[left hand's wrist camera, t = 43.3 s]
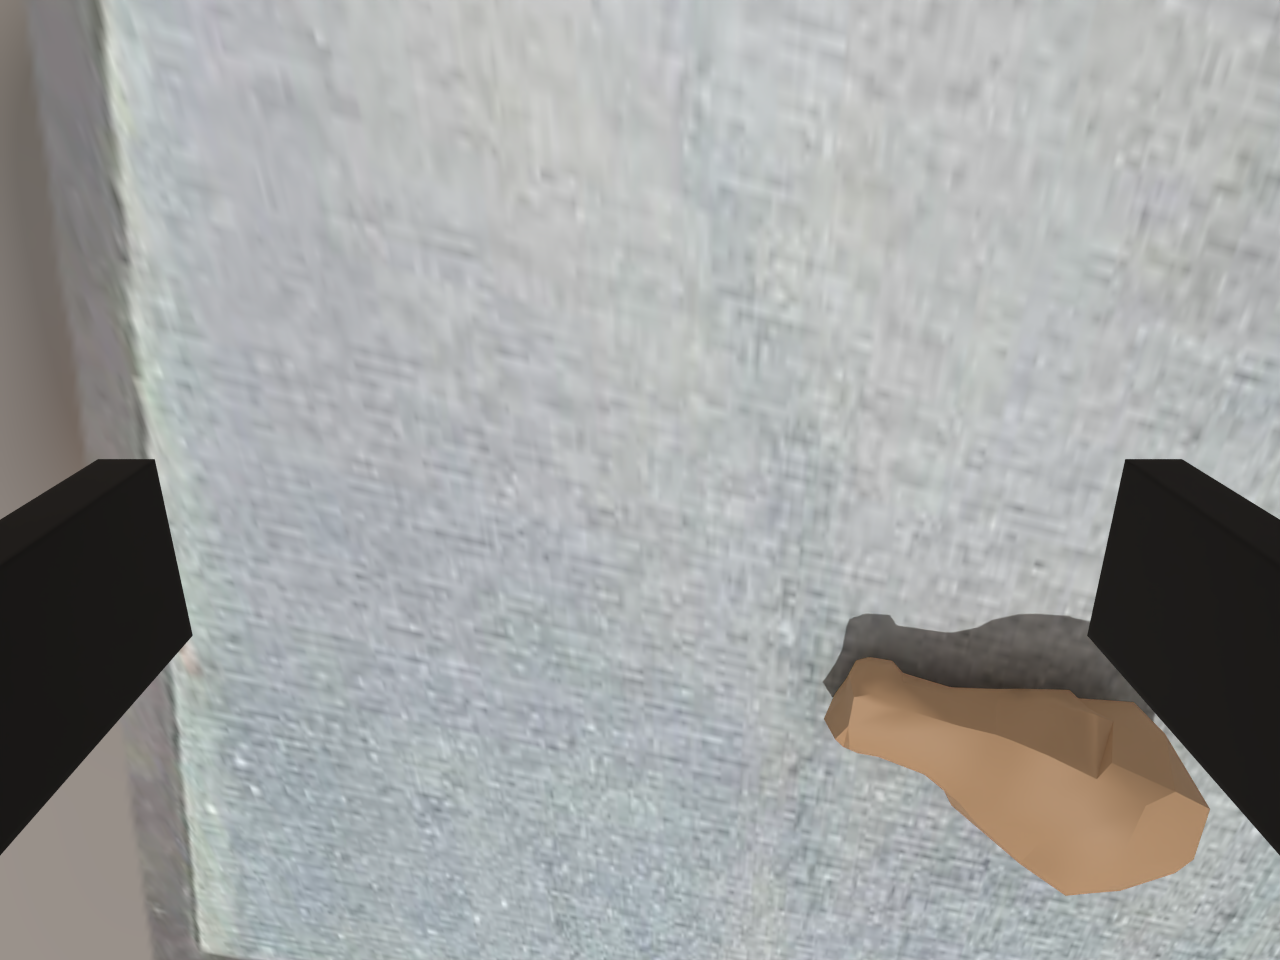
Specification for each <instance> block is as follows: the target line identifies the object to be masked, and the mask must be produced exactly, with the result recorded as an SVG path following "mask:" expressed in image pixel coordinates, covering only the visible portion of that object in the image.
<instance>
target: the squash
mask: <svg viewBox="0 0 1280 960" xmlns="http://www.w3.org/2000/svg"><path fill="white" fill-rule="evenodd" d="M824 720H825V722H826V723H827V725H828V727H829V729H830V731H831V733H832V734H833V736H834V738H835V739H836V740H837V741H838V742H839V743H840V744H841V745H842V746H843V747H845V748H847V749H850V750H852V751H854V752H856V753H860V754H866V755H872V756H878V757H880V758H883V759H885V760H888V761H891V762H893V763H896V764H899V765H901V766H904V767H906V768H909V769H912V770H914V771H917V772H920V773H922V774H924V775H926V776H927V777H928V778H929V779H931V780H932V781H933V782H934V783H936V784H937V785H938V786H939V787H940V788H942V789H943V790H944V791H945V793H946V795H947V797H948V799H949V801H950V803H951V805H952V806H953V807H954V808H955V809H956V810H958V811H959V812H960V813H961V814H962V815H963V816H965V817H966V818H967V819H968V820H969V821H970V822H972V823H973V824H974V825H975V826H976V827H977V828H979V829H980V830H981V831H982V832H983V833H984V834H986V835H987V836H988V837H989V838H990V839H991V840H993V841H994V842H995V843H996V844H997V845H998V846H1000V847H1001V848H1002V849H1003V850H1004V851H1005V852H1007V853H1008V854H1009V855H1010V856H1011V857H1013V858H1014V859H1015V860H1016V861H1017V862H1018V863H1020V864H1021V865H1022V866H1024V867H1025V868H1027V869H1028V870H1030V871H1031V872H1032V873H1034V874H1035V875H1037V876H1038V877H1040V878H1041V879H1042V880H1044V881H1045V882H1047V883H1048V884H1050V885H1051V886H1053V887H1054V888H1055V889H1057V890H1058V891H1060V892H1061V893H1063V894H1064V895H1065V896H1067V895H1077V894H1087V893H1098V892H1111V891H1121V890H1124V889H1127V888H1130V887H1133V886H1136V885H1139V884H1142V883H1145V882H1149V881H1152V880H1155V879H1158V878H1161V877H1164V876H1167V875H1170V874H1173V873H1176V872H1177V871H1178V870H1180V869H1181V868H1182V867H1184V866H1185V865H1186V864H1188V863H1189V862H1191V861H1192V860H1193V859H1194V857H1195V853H1196V850H1197V847H1198V844H1199V841H1200V838H1201V835H1202V832H1203V829H1204V826H1205V823H1206V820H1207V817H1208V814H1209V811H1210V808H1209V807H1208V805H1207V803H1206V802H1205V800H1204V798H1203V797H1202V795H1201V793H1200V792H1199V790H1198V788H1197V787H1196V785H1195V783H1194V782H1193V780H1192V778H1191V777H1190V775H1189V773H1188V772H1187V770H1186V768H1185V767H1184V765H1183V763H1182V762H1181V760H1180V758H1179V756H1178V755H1177V753H1176V751H1175V750H1174V748H1173V746H1172V745H1171V743H1170V741H1169V740H1168V738H1167V736H1166V735H1165V733H1164V732H1163V731H1162V730H1161V729H1160V728H1159V727H1158V726H1157V725H1156V724H1155V723H1154V722H1153V721H1152V720H1151V719H1150V718H1149V717H1148V716H1147V715H1146V714H1145V713H1144V712H1143V711H1142V710H1141V709H1140V708H1139V707H1138V706H1137V705H1136V704H1135V703H1134V702H1125V701H1111V700H1096V699H1082V698H1077V697H1076V696H1075V695H1074V694H1073V693H1072V692H1071V691H1070V690H1056V689H983V688H955V687H948V686H945V685H942V684H938V683H935V682H932V681H928V680H925V679H922V678H918V677H915V676H912V675H908V674H905V673H903V672H902V671H901V670H900V669H899V668H898V667H897V666H896V664H895V663H894V662H893V661H891V660H885V659H878V658H872V657H867V658H863V659H859V660H856V661H855V663H854V665H853V667H852V669H851V671H850V673H849V674H848V676H847V678H846V679H845V681H844V682H843V684H842V685H841V686H840V688H839V689H838V690H837V692H836V693H835V695H834V697H833V699H832V702H831V704H830V706H829V708H828V711H827V713H826V715H825V718H824Z"/></svg>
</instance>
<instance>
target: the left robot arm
mask: <svg viewBox="0 0 1280 960" xmlns="http://www.w3.org/2000/svg"><path fill="white" fill-rule="evenodd" d="M192 636H193V635H192V630H191V626H190V621H189V616H188V612H187V607H186V602H185V598H184V593H183V589H182V584H181V579H180V575H179V570H178V565H177V561H176V556H175V551H174V547H173V542H172V537H171V533H170V528H169V524H168V519H167V514H166V510H165V505H164V500H163V496H162V491H161V486H160V482H159V477H158V472H157V468H156V463H155V459H98V460H96V461H94V462H93V463H91V464H90V465H88V466H86V467H85V468H83V469H82V470H80V471H78V472H77V473H75V474H73V475H72V476H70V477H69V478H67V479H65V480H64V481H62V482H61V483H59V484H57V485H56V486H54V487H52V488H51V489H49V490H48V491H46V492H44V493H43V494H41V495H39V496H38V497H36V498H35V499H33V500H31V501H30V502H28V503H27V504H25V505H23V506H22V507H20V508H19V509H17V510H15V511H14V512H12V513H10V514H9V515H7V516H6V517H4V518H2V519H1V520H0V855H1V854H2V853H3V851H4V850H5V849H6V848H7V847H8V846H9V845H10V844H11V842H12V841H13V840H14V839H15V838H16V837H17V835H18V834H19V833H20V832H21V831H22V830H23V829H24V827H25V826H26V825H27V824H28V823H29V822H30V821H31V820H32V818H33V817H34V816H35V815H36V814H37V813H38V812H39V810H40V809H41V808H42V807H43V806H44V805H45V804H46V802H47V801H48V800H49V799H50V798H51V797H52V796H53V794H54V793H55V792H56V791H57V790H58V789H59V787H60V786H61V785H62V784H63V783H64V782H65V781H66V780H67V778H68V777H69V776H70V775H71V774H72V773H73V772H74V770H75V769H76V768H77V767H78V766H79V765H80V763H81V762H82V761H83V760H84V759H85V758H86V757H87V756H88V754H89V753H90V752H91V751H92V750H93V749H94V748H95V746H96V745H97V744H98V743H99V742H100V741H101V740H102V738H103V737H104V736H105V735H106V734H107V733H108V732H109V730H110V729H111V728H112V727H113V726H114V725H115V724H116V722H117V721H118V720H119V719H120V718H121V717H122V716H123V714H124V713H125V712H126V711H127V710H128V709H129V708H130V706H131V705H132V704H133V703H134V702H135V701H136V700H137V698H138V697H139V696H140V695H141V694H142V693H143V692H144V690H145V689H146V688H147V687H148V686H149V685H150V684H151V682H152V681H153V680H154V679H155V678H156V677H157V676H158V674H159V673H160V672H161V671H162V670H163V669H164V668H165V666H166V665H167V664H168V663H169V662H170V661H171V660H172V658H173V657H174V656H175V655H176V654H177V653H178V652H179V650H180V649H181V648H182V647H183V646H184V645H185V644H186V642H187V641H188V640H189V639H190V638H191V637H192ZM1087 636H1088V637H1089V638H1090V639H1091V640H1092V641H1093V642H1094V644H1095V645H1096V646H1097V647H1098V648H1099V649H1100V650H1101V652H1102V653H1103V654H1104V655H1105V656H1106V657H1107V658H1108V660H1109V661H1110V662H1111V663H1112V664H1113V665H1114V666H1115V668H1116V669H1117V670H1118V671H1119V672H1120V673H1121V674H1122V676H1123V677H1124V678H1125V679H1126V680H1127V681H1128V682H1129V684H1130V685H1131V686H1132V687H1133V688H1134V689H1135V690H1136V692H1137V693H1138V694H1139V695H1140V696H1141V697H1142V698H1143V700H1144V701H1145V702H1146V703H1147V704H1148V705H1149V706H1150V708H1151V709H1152V710H1153V711H1154V712H1155V713H1156V714H1157V716H1158V717H1159V718H1160V719H1161V720H1162V721H1163V722H1164V724H1165V725H1166V726H1167V727H1168V728H1169V729H1170V730H1171V732H1172V733H1173V734H1174V735H1175V736H1176V737H1177V738H1178V740H1179V741H1180V742H1181V743H1182V744H1183V745H1184V746H1185V748H1186V749H1187V750H1188V751H1189V752H1190V753H1191V754H1192V756H1193V757H1194V758H1195V759H1196V760H1197V761H1198V762H1199V764H1200V765H1201V766H1202V767H1203V768H1204V769H1205V770H1206V772H1207V773H1208V774H1209V775H1210V776H1211V777H1212V778H1213V780H1214V781H1215V782H1216V783H1217V784H1218V785H1219V786H1220V788H1221V789H1222V790H1223V791H1224V792H1225V793H1226V794H1227V796H1228V797H1229V798H1230V799H1231V800H1232V801H1233V802H1234V804H1235V805H1236V806H1237V807H1238V808H1239V809H1240V810H1241V812H1242V813H1243V814H1244V815H1245V816H1246V817H1247V818H1248V820H1249V821H1250V822H1251V823H1252V824H1253V825H1254V826H1255V828H1256V829H1257V830H1258V831H1259V832H1260V833H1261V834H1262V836H1263V837H1264V838H1265V839H1266V840H1267V841H1268V842H1269V844H1270V845H1271V846H1272V847H1273V848H1274V849H1275V850H1276V852H1277V853H1278V854H1279V855H1280V520H1279V519H1278V518H1276V517H1275V516H1273V515H1271V514H1270V513H1268V512H1266V511H1265V510H1263V509H1262V508H1260V507H1258V506H1257V505H1255V504H1253V503H1252V502H1250V501H1249V500H1247V499H1245V498H1244V497H1242V496H1241V495H1239V494H1237V493H1236V492H1234V491H1232V490H1231V489H1229V488H1228V487H1226V486H1224V485H1223V484H1221V483H1219V482H1218V481H1216V480H1215V479H1213V478H1211V477H1210V476H1208V475H1207V474H1205V473H1203V472H1202V471H1200V470H1198V469H1197V468H1195V467H1194V466H1192V465H1190V464H1189V463H1187V462H1186V461H1184V460H1182V459H1125V463H1124V468H1123V472H1122V477H1121V482H1120V486H1119V491H1118V496H1117V500H1116V505H1115V510H1114V514H1113V519H1112V523H1111V528H1110V533H1109V537H1108V542H1107V547H1106V551H1105V556H1104V561H1103V565H1102V570H1101V575H1100V579H1099V584H1098V589H1097V593H1096V598H1095V602H1094V607H1093V612H1092V616H1091V621H1090V626H1089V630H1088V635H1087Z"/></svg>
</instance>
